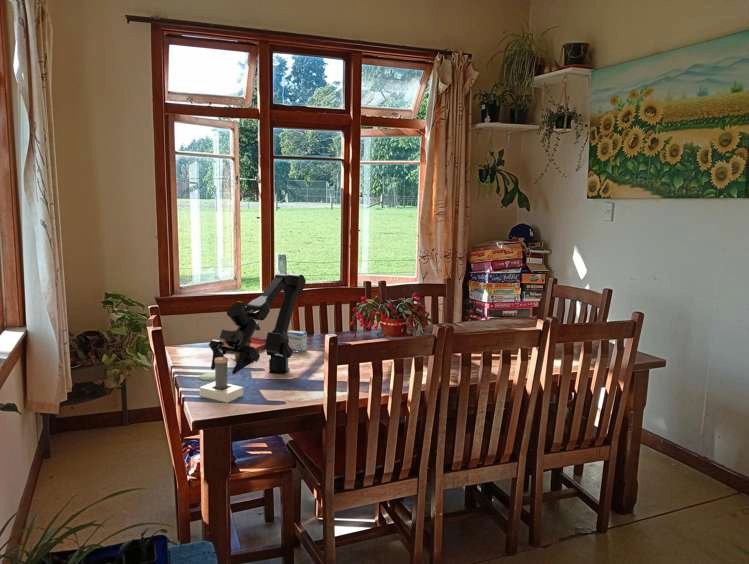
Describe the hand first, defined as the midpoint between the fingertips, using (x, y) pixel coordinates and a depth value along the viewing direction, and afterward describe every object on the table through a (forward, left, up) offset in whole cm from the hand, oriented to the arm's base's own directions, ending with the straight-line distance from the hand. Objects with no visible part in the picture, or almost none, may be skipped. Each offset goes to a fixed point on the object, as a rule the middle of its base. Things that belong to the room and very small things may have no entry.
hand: (222, 371), depth 200 cm
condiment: (+9, -42, -9) cm, 44 cm away
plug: (0, 0, -8) cm, 8 cm away
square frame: (0, 0, -8) cm, 8 cm away
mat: (+12, -17, -8) cm, 22 cm away
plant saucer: (+15, -59, -9) cm, 62 cm away
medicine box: (-8, -61, -9) cm, 62 cm away
